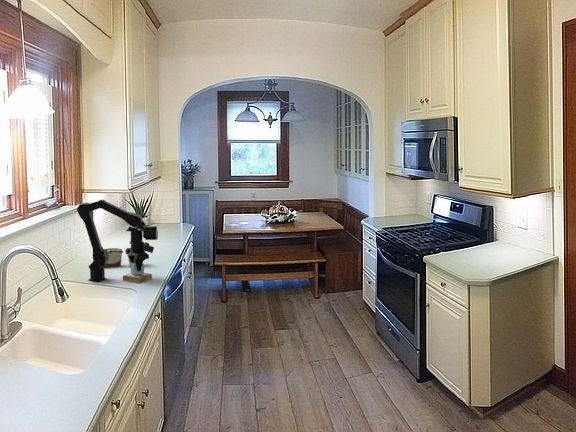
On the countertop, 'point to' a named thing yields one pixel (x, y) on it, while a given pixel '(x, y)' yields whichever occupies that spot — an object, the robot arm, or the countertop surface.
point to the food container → (114, 258)
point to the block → (134, 269)
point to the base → (137, 277)
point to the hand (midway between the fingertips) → (137, 270)
